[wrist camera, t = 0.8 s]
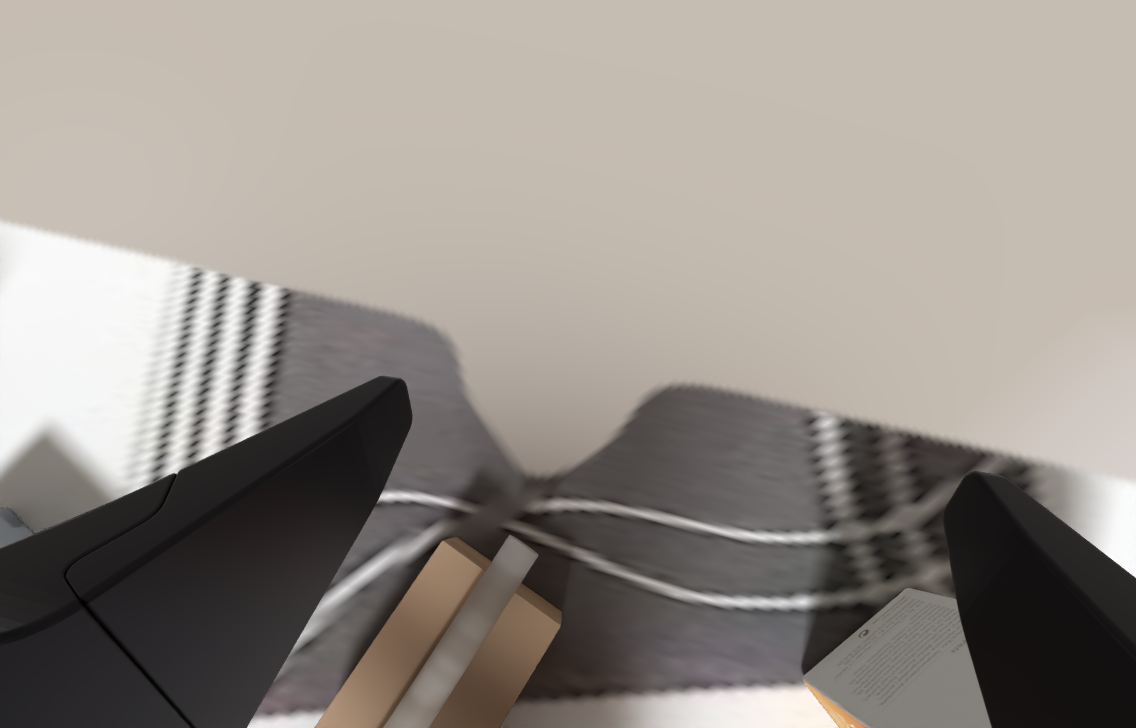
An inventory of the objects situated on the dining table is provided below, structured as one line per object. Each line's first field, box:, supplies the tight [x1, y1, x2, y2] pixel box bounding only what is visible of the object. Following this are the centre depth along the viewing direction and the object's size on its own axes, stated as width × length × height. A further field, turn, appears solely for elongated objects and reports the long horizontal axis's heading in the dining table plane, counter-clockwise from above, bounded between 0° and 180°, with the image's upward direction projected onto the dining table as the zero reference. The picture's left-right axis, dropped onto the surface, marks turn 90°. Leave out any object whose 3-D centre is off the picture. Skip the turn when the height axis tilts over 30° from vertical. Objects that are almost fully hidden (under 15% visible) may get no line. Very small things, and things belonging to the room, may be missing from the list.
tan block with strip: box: [315, 535, 562, 728], centre depth 18 cm, size 11×5×4 cm, turn 147°
